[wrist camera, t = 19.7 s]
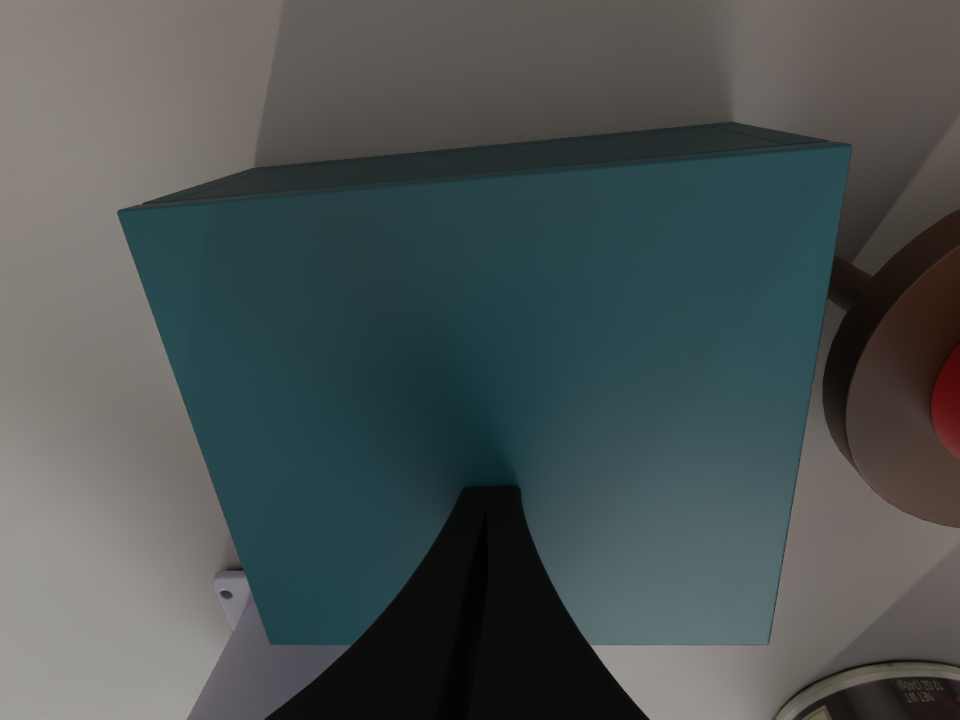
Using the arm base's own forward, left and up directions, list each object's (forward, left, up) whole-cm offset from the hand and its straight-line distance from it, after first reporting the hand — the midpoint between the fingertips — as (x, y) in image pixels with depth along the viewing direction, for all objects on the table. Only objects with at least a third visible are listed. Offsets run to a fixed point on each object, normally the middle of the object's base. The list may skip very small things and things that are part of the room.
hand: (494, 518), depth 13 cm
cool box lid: (+2, 0, -1) cm, 2 cm away
